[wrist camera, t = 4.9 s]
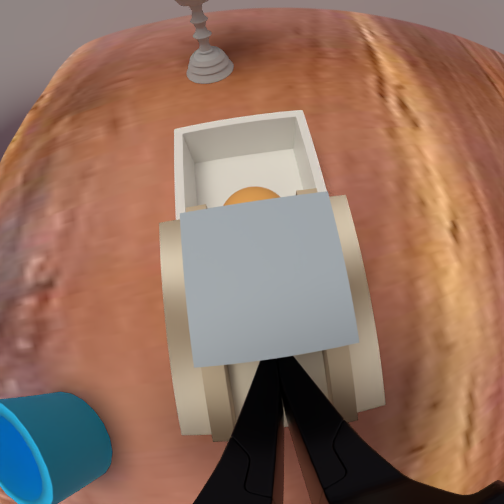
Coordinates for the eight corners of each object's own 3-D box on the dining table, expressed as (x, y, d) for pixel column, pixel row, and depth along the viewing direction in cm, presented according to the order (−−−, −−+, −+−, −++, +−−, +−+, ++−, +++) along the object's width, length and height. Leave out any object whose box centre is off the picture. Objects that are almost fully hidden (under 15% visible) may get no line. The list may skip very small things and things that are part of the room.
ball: (306, 250, 14) (295, 182, 14) (276, 259, 11) (263, 175, 11) (248, 256, 16) (239, 195, 16) (210, 266, 13) (199, 193, 13)
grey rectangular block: (312, 341, 13) (359, 342, 6) (234, 352, 13) (194, 367, 6) (300, 265, 14) (327, 191, 7) (224, 277, 14) (179, 213, 7)
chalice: (166, 87, 27) (112, -59, 10) (190, 51, 29) (156, -78, 12) (233, 91, 26) (206, -80, 9) (251, 53, 28) (237, -90, 11)
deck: (352, 386, 18) (394, 409, 11) (207, 408, 19) (174, 442, 11) (325, 235, 22) (350, 184, 14) (189, 255, 22) (151, 214, 14)
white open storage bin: (320, 236, 22) (331, 211, 17) (194, 255, 22) (176, 234, 17) (298, 145, 24) (302, 110, 20) (188, 162, 24) (174, 129, 20)
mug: (112, 406, 19) (45, 427, 11) (114, 490, 17) (62, 531, 9) (13, 369, 20) (-51, 366, 12) (17, 443, 18) (-40, 456, 10)
